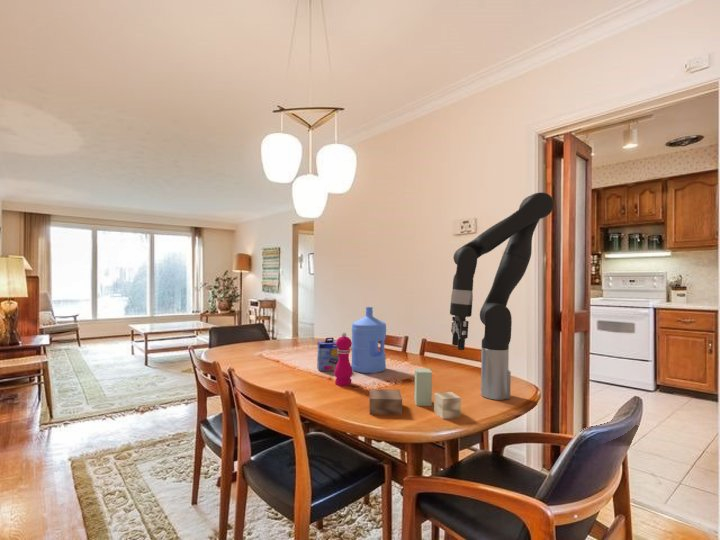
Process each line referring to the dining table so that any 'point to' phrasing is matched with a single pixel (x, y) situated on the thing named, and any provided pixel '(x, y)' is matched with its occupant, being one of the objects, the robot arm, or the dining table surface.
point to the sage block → (423, 387)
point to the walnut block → (385, 402)
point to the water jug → (368, 344)
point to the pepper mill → (343, 362)
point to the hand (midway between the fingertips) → (457, 347)
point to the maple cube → (447, 405)
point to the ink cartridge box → (327, 355)
